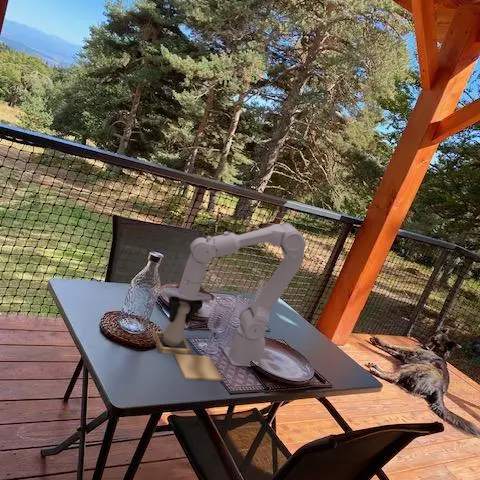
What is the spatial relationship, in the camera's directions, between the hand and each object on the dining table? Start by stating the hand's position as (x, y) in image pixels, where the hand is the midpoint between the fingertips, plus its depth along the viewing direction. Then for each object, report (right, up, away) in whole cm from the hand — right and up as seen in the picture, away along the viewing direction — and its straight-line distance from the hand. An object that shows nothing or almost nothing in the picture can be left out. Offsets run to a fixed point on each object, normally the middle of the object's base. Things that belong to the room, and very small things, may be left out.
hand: (178, 321), depth 133 cm
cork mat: (+6, -12, -5) cm, 14 cm away
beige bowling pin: (-2, -7, +2) cm, 8 cm away
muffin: (-1, -1, +29) cm, 29 cm away
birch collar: (-3, -7, +2) cm, 8 cm away
